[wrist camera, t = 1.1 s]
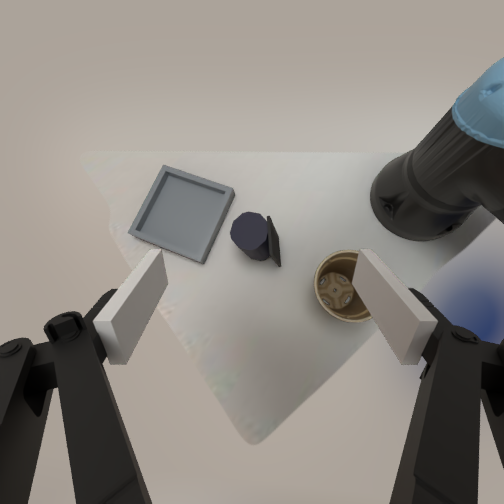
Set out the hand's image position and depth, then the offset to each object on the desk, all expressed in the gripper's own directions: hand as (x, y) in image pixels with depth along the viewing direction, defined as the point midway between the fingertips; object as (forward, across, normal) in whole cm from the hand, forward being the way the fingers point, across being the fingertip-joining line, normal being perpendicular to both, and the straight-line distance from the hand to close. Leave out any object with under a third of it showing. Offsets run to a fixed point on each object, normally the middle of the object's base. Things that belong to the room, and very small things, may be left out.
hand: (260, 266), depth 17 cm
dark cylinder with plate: (+24, +1, -11) cm, 26 cm away
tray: (+29, -13, -7) cm, 32 cm away
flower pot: (+19, +13, -16) cm, 28 cm away
